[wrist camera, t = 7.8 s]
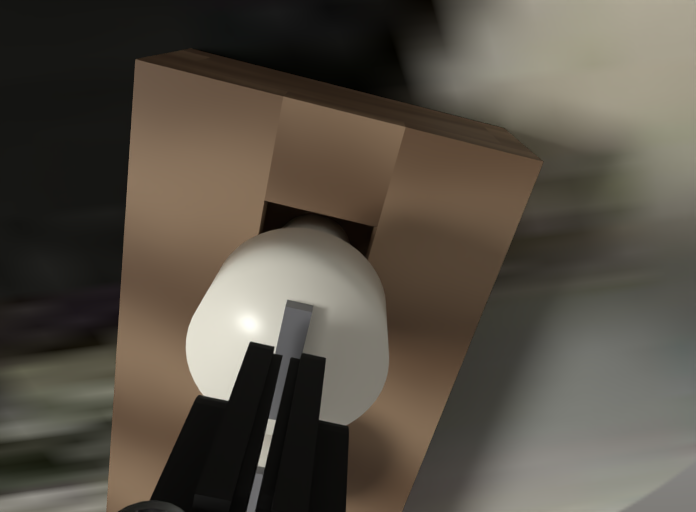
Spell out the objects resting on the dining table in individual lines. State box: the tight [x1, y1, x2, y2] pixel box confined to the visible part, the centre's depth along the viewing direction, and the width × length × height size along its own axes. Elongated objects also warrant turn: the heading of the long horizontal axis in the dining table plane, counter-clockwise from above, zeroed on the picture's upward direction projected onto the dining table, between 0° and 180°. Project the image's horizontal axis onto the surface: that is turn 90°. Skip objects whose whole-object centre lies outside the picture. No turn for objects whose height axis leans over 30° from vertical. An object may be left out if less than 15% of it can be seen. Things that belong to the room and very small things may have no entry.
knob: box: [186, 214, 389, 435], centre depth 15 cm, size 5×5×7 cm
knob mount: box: [106, 48, 543, 512], centre depth 23 cm, size 26×12×5 cm, turn 167°
